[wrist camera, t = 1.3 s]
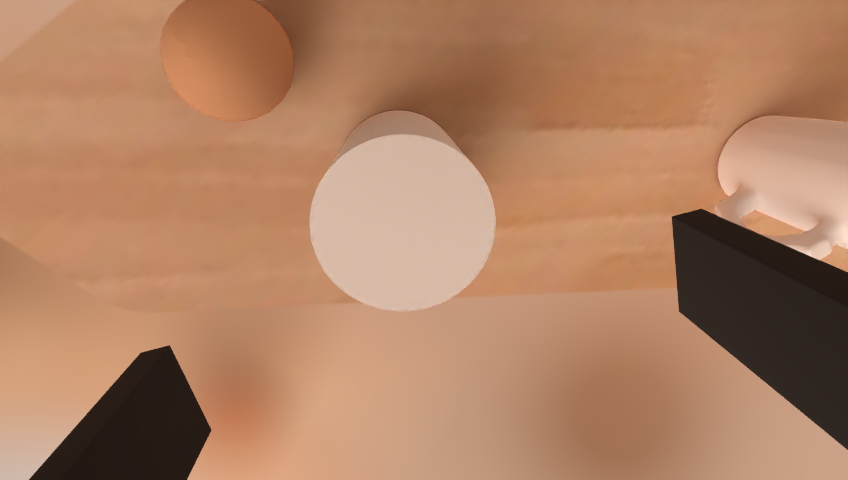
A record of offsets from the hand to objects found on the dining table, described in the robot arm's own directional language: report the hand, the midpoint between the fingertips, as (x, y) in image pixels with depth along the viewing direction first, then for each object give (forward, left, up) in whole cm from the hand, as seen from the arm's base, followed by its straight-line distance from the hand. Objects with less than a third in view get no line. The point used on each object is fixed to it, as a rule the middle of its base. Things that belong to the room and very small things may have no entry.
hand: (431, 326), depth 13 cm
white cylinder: (0, -1, -21) cm, 21 cm away
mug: (+6, +22, -21) cm, 32 cm away
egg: (-9, -8, -22) cm, 24 cm away
